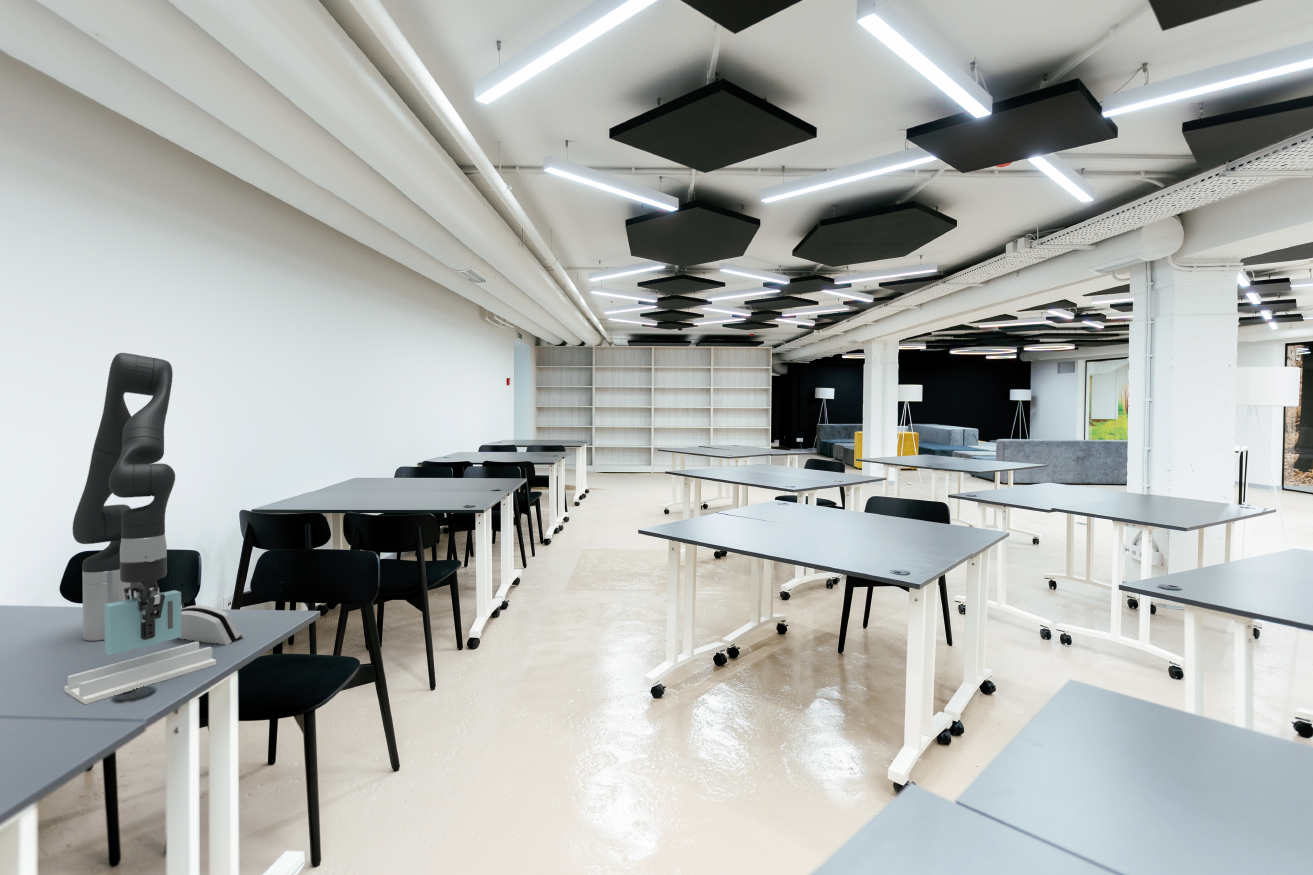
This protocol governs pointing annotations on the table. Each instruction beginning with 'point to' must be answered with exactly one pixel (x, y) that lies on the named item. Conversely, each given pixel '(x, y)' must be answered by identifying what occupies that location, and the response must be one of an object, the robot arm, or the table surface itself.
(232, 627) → the grey arched block
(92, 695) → the door track
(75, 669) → the table surface
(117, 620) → the door panel
